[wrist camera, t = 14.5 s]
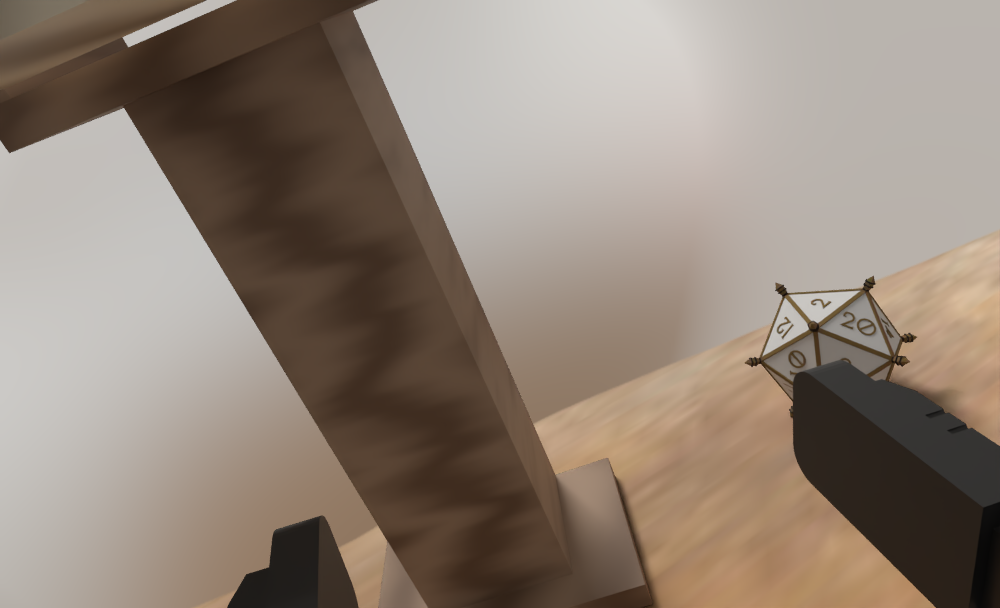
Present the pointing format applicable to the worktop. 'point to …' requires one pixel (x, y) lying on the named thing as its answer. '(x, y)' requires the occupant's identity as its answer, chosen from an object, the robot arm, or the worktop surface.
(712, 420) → the worktop surface
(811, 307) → the game die
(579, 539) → the stand
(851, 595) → the worktop surface
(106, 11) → the tray
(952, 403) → the worktop surface
